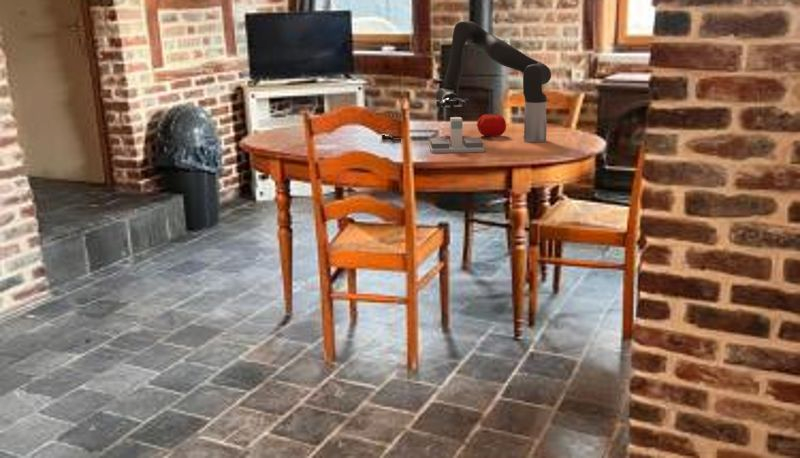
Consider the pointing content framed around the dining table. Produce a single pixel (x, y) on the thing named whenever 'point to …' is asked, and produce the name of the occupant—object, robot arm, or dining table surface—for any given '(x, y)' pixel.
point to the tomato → (491, 125)
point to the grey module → (456, 132)
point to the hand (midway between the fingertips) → (453, 104)
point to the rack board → (467, 146)
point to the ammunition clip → (389, 136)
